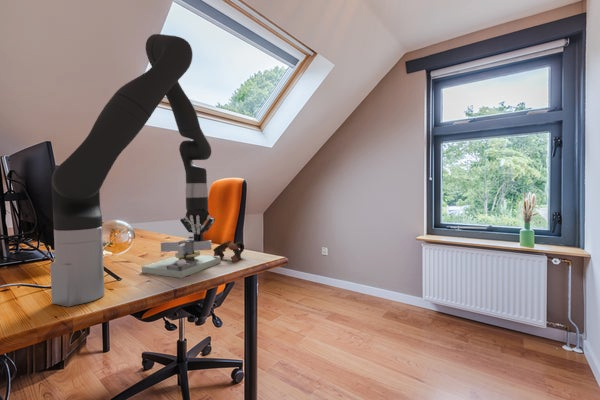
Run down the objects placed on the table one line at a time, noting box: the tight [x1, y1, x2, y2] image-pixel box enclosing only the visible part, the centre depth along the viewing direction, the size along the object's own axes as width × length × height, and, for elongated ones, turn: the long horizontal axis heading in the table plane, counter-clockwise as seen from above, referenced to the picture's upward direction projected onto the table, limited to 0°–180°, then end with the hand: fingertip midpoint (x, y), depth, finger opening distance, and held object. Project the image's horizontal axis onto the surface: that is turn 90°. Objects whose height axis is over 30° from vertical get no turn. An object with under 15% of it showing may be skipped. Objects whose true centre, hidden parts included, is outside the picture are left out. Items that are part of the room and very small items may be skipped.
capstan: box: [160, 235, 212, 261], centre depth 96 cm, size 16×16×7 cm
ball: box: [177, 259, 186, 266], centre depth 89 cm, size 3×3×3 cm
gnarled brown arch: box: [212, 240, 245, 263], centre depth 108 cm, size 12×10×8 cm
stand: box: [141, 254, 221, 279], centre depth 96 cm, size 19×16×3 cm
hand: (198, 244), depth 102 cm, fingers closed
